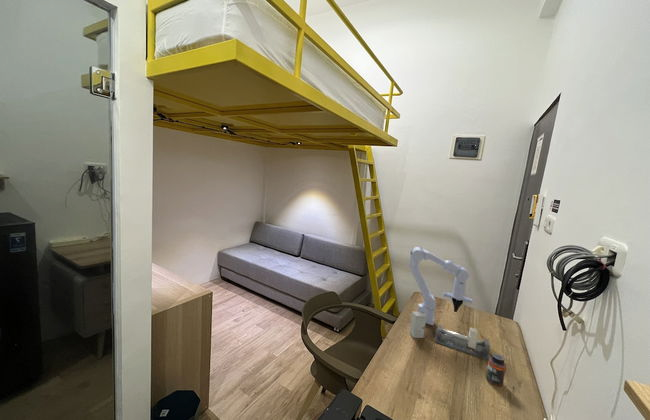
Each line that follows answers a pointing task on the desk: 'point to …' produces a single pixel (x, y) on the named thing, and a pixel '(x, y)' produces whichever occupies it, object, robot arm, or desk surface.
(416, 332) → the skincare box
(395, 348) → the desk surface
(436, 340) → the pipe rig
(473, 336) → the collar
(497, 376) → the supplement bottle
